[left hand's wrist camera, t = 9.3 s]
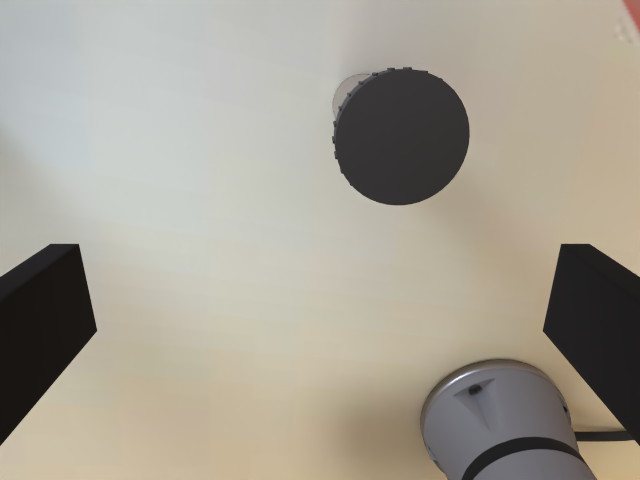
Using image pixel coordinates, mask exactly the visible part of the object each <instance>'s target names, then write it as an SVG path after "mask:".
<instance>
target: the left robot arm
mask: <svg viewBox="0 0 640 480" xmlns="http://www.w3.org/2000/svg"><path fill="white" fill-rule="evenodd" d="M96 332H97V328H96V323H95V318H94V314H93V309H92V304H91V299H90V295H89V290H88V285H87V280H86V276H85V271H84V266H83V262H82V257H81V252H80V247H79V244H50V245H48V246H47V247H45V248H44V249H42V250H41V251H39V252H38V253H36V254H35V255H33V256H32V257H30V258H29V259H27V260H26V261H24V262H22V263H21V264H19V265H18V266H16V267H15V268H13V269H12V270H10V271H9V272H7V273H6V274H4V275H3V276H1V277H0V446H1V444H2V443H3V442H4V441H5V440H6V439H7V437H8V436H9V435H10V434H11V433H12V431H13V430H14V429H15V428H16V427H17V425H18V424H19V423H20V422H21V421H22V420H23V418H24V417H25V416H26V415H27V414H28V412H29V411H30V410H31V409H32V408H33V406H34V405H35V404H36V403H37V402H38V401H39V399H40V398H41V397H42V396H43V395H44V393H45V392H46V391H47V390H48V389H49V387H50V386H51V385H52V384H53V383H54V382H55V380H56V379H57V378H58V377H59V376H60V374H61V373H62V372H63V371H64V370H65V368H66V367H67V366H68V365H69V364H70V363H71V361H72V360H73V359H74V358H75V357H76V355H77V354H78V353H79V352H80V351H81V349H82V348H83V347H84V346H85V345H86V344H87V342H88V341H89V340H90V339H91V338H92V336H93V335H94V334H95V333H96ZM543 332H544V333H545V334H546V335H547V336H548V338H549V339H550V340H551V341H552V342H553V344H554V345H555V346H556V347H557V348H558V349H559V351H560V352H561V353H562V354H563V355H564V357H565V358H566V359H567V360H568V361H569V363H570V364H571V365H572V366H573V367H574V368H575V370H576V371H577V372H578V373H579V374H580V376H581V377H582V378H583V379H584V380H585V382H586V383H587V384H588V385H589V386H590V387H591V389H592V390H593V391H594V392H595V393H596V395H597V396H598V397H599V398H600V399H601V401H602V402H603V403H604V404H605V405H606V406H607V408H608V409H609V410H610V411H611V412H612V414H613V415H614V416H615V417H616V418H617V420H618V421H619V422H620V423H621V424H622V425H623V427H624V428H625V429H626V430H627V431H616V432H574V431H573V429H572V427H571V418H570V413H569V410H568V407H567V404H566V402H565V400H564V398H563V396H562V394H561V393H560V391H559V390H558V389H557V387H556V386H555V385H554V383H553V382H552V381H551V380H550V378H549V377H548V376H546V375H545V374H544V373H543V372H541V371H540V370H538V369H536V368H535V367H533V366H530V365H528V364H525V363H522V362H517V361H511V360H490V361H483V362H478V363H475V364H471V365H469V366H466V367H464V368H461V369H459V370H457V371H456V372H454V373H452V374H450V375H449V376H448V377H446V378H445V379H444V380H442V381H441V382H440V383H439V384H438V385H437V386H436V387H435V388H434V389H433V391H432V392H431V393H430V395H429V396H428V398H427V400H426V402H425V404H424V406H423V409H422V413H421V421H420V425H421V432H422V436H423V439H424V443H425V446H426V449H427V451H428V452H429V455H430V458H431V459H432V460H433V461H434V463H435V464H436V465H437V466H438V468H439V469H440V470H441V471H442V472H444V473H445V475H446V477H447V479H448V480H597V479H596V477H595V476H594V474H593V473H592V471H591V470H590V468H589V467H588V465H587V464H586V462H585V461H584V459H583V458H582V457H581V455H580V453H579V449H578V445H577V441H628V440H635V441H636V442H637V443H638V444H639V446H640V277H639V276H637V275H636V274H634V273H633V272H631V271H630V270H628V269H627V268H625V267H624V266H622V265H621V264H619V263H618V262H616V261H614V260H613V259H611V258H610V257H608V256H607V255H605V254H604V253H602V252H601V251H599V250H598V249H596V248H595V247H593V246H592V245H590V244H561V247H560V252H559V257H558V262H557V266H556V271H555V276H554V280H553V285H552V290H551V295H550V299H549V304H548V309H547V314H546V318H545V323H544V328H543Z"/></svg>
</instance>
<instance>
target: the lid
mask: <svg viewBox="0 0 640 480" xmlns="http://www.w3.org/2000/svg"><path fill="white" fill-rule="evenodd" d="M358 83H359V84H358V85H357V86H356V87H355V88H354V89H353V90H352V91H351V92H350V93H349V92H348V93H347V95H348V96H347V97H346V98H345V100H344V101H343V103H342V105H341V106H339V107H338V109H339V112H338V114H337V117H336V121H334V122H333V124H334V136H332V140H333V143H334V144H335V150H336V151H334V154H335V159H338V163H339V165H340V170H341V173H342V174H344V176H345V177H346V179H347V180H348V181H349V183H350V185H351V186H353V187H354V188H355V189H356V190H357V191H358V192H360V193H361V194H362V195H364V196H365V197H367V198H369V199H371V200H374V201H376V202H379V203H383V204H387V205H408V204H413V203H417V202H420V201H423V200H425V199H428V198H430V197H431V196H433V195H435V194H436V193H438V192H439V191H441V190H442V189H443V188H444V187H445V186H446V185H447V184H449V182H450V181H451V180H452V179H453V178H454V177H455V175H456V174H457V172H458V171H459V169H460V167H461V165H462V163H463V161H464V159H465V156H466V153H467V149H468V145H469V136H470V135H469V122H468V117H467V113H466V110H465V108H464V105H463V103H462V101H461V100H460V98H459V97H458V95H457V94H456V92H455V91H454V90H453V89H452V88H451V87H450V86H449V85H448V84H447V83H445V82H444V81H443V79H441V78H438V77H436V76H434V75H432V74H429V73H428V71H419V70H412V67H403V69H395V68H387V71H383V72H379V73H372V76H370V77H368V78H366V79H365V80H363V81H359V82H358Z"/></svg>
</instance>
